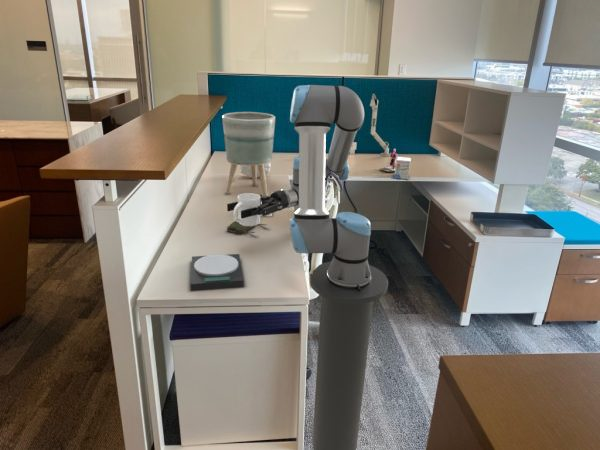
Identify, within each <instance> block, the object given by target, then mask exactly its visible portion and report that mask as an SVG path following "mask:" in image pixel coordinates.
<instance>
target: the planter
mask: <svg viewBox="0 0 600 450" xmlns="http://www.w3.org/2000/svg"><path fill="white" fill-rule="evenodd" d="M221 117H222V119H221V120H222V128H223V135H224V136H223V138H224V145H225V146H224V147H225V148H224V149H225V159H226V162H228V163H229V164H230V169H229V174H228V178H227V183H226V185H227V186H226V190H225V195H230V194H231V190H232V187H233V182H234V179H235V175H236V172H237V168H238V166H240V165H243V166H251V172H252V177H251V180H252V186H253V187H256V186H257V185H258V178H257V172H256V166H258V171H259V175H260V177H259V180H260V184H261V188H262V195H263V197H266V196H269V193H268V186H267V178H266V175H265V170H264V164H268V163H270V164H271V163H272V162H273V161H272V160H273V152H274V151H273V150H274V140H275V128H276V116H275V115H274V114H271V113H267V112H257V111H235V112H228V113H224V114H223V115H222V116H221Z"/></svg>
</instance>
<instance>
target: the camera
mask: <svg viewBox="0 0 600 450" xmlns="http://www.w3.org/2000/svg"><path fill="white" fill-rule="evenodd" d="M271 166H272V165H271V162H270V163H268V164H264V170H265V176H266V175H268V174H270V173H271ZM239 172H240V174H242V175H245V176H247V178H251V179H252V172H251V166H243V165H239ZM256 172H257V179H258V178H260V175H259V171H258V166H256Z"/></svg>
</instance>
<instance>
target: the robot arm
mask: <svg viewBox="0 0 600 450" xmlns="http://www.w3.org/2000/svg"><path fill="white" fill-rule="evenodd" d="M292 94H293V95H292V98H291V105H290V113H289V114H290V115H289V116H290V117H289V122H290V124H291V123H292V124H294V130H295V131H296V133H298V155H297V156H295V157H294V158H293V164H292V165H293V167H292V187H287V188H283V189H279V190H275V191H272V192H271V194H270V195H268V196H266V197H264V196H263V194H259V195H260V206H259V207H258V209H257V208H256V207H255V208H250V209H246V210H242V211H241V218H246V217H250V216H254V215H257V214H258V215H261V214H262V216H261V217H267V216H266V215H269V214H271V213H272V214H273V213H276V212H280V211H283V210H284V209H290V208H292V207H296V206H298V208H297V209H296V210H295V211H294V213H293V217H292V218H290V219H289V231H290V237H291V244H292V248H293V250H294V252H295V253H297V254H306V255H309V254H333V256H332V259H331V264H330V266H329V268H328V271H327V279H328V281H329V282H330V283H331V284H333V285H335V286H337V287H340V288H345V289H358V291H360V290H361V289H360V288H363V287H366V286H367V285H369V284H370V282H371V272H370V268H369V265H370V264H369V260H368V258H369V251H370V250H369V249H370V240H371V235H372V233H371V232H372V230H371V229H372V228H371V226H372V225H371V222H370V219H368V218H367V217H366V216H364V215H362V214H359V213H357V212H351V211H341V212H337V214H336V215H335V217H333V218H332V217H331V218H330V212H329V211H328V210H327V209H326V180H325V178H326V176H327V174H328V173H329V172H331V171H332V172H334V173H335V174H336V175H338V176H339V179H340V181H341V182H342V181H347V180H348V179H349V174H350V164H349V163H348V162H347V161H348V158H349V155H350V153H351V151H352V147H353V144H354V141H355V138H356V135H357V132H358V131H359V130H360V129H361V128H362V127H363V124H364V120H365V108H364V105H363V102H362V100H361V98H360V97H359V95H358V94H357V93H356V92H355V91H354V90H352V89H350V88H349V87H346V86H344V85H319V84H307V85H304V84H303V85H297V86H296V87H295V88H294V90H293V93H292ZM332 124H334V125H335V127H334V130H333V134H332V139H331V142H330V147H329V150H328V153H327V159H326V146H327V145H326V141H327V139H326V138H327V133H329V131H330V130H331V128H332V126H331V125H332ZM261 201H262V204H261ZM237 204H238V201H234V202H230V203H227V204H226V210H227V212H232V211H234V208H235V206H236V205H237ZM265 212H266V213H265Z"/></svg>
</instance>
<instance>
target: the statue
mask: <svg viewBox="0 0 600 450" xmlns="http://www.w3.org/2000/svg"><path fill="white" fill-rule="evenodd" d="M392 151H393V152H390V154H389V157H390V162H389V166H390V167H385V166H383V168H382V167H381V168H379V170H380V171H382V172H383V173H387V172H390V173H392V172H395V167H396V159H397V157H398V153H397V152H396V151H397V150H396V148H393V150H392Z"/></svg>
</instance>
